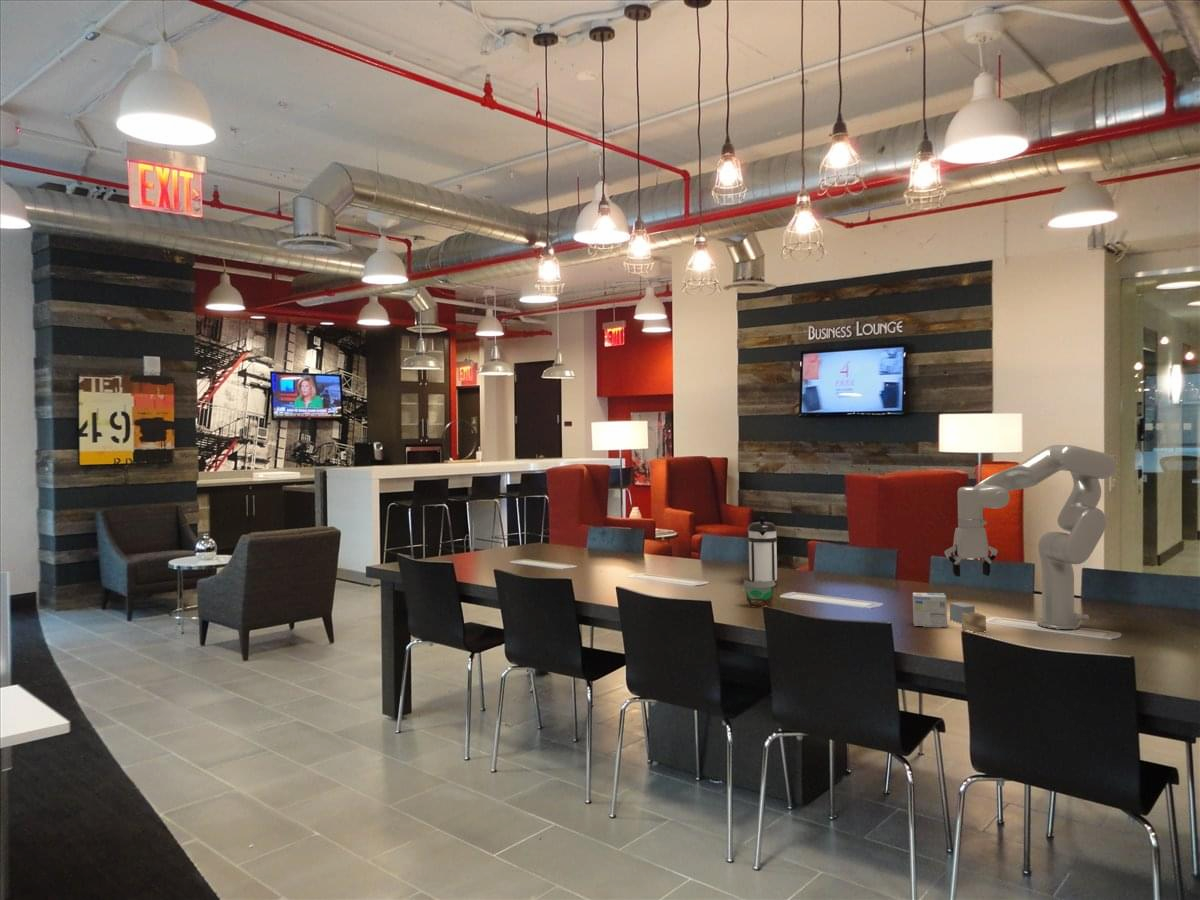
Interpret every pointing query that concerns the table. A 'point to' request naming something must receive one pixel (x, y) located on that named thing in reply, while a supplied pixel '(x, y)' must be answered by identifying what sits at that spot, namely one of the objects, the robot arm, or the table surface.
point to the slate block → (960, 610)
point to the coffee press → (762, 551)
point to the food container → (759, 593)
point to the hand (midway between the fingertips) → (971, 575)
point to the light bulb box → (930, 609)
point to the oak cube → (974, 622)
